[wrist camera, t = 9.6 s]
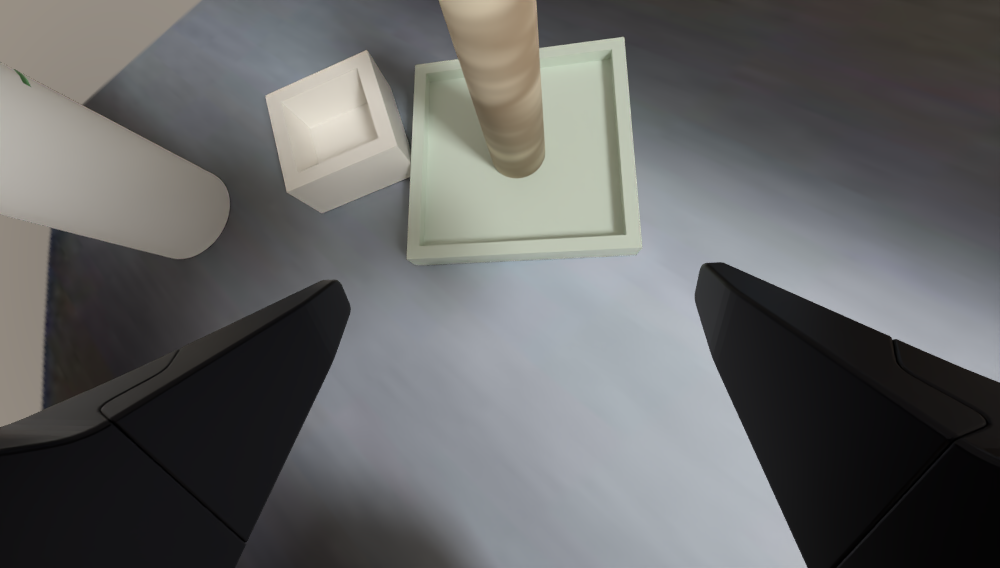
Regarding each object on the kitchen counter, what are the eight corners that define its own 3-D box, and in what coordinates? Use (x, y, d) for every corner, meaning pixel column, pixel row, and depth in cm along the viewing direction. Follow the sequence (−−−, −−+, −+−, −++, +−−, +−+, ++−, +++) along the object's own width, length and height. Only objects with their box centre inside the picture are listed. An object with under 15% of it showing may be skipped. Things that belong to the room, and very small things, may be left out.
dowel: (513, 188, 24) (452, -41, 10) (481, 151, 24) (385, -106, 11) (556, 155, 24) (554, -121, 10) (522, 119, 24) (478, -181, 11)
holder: (418, 173, 26) (397, 145, 22) (321, 213, 26) (286, 192, 23) (390, 87, 28) (367, 49, 24) (300, 127, 28) (265, 95, 25)
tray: (636, 255, 22) (642, 247, 21) (416, 265, 24) (406, 259, 23) (620, 56, 25) (624, 36, 23) (423, 81, 27) (415, 64, 26)
